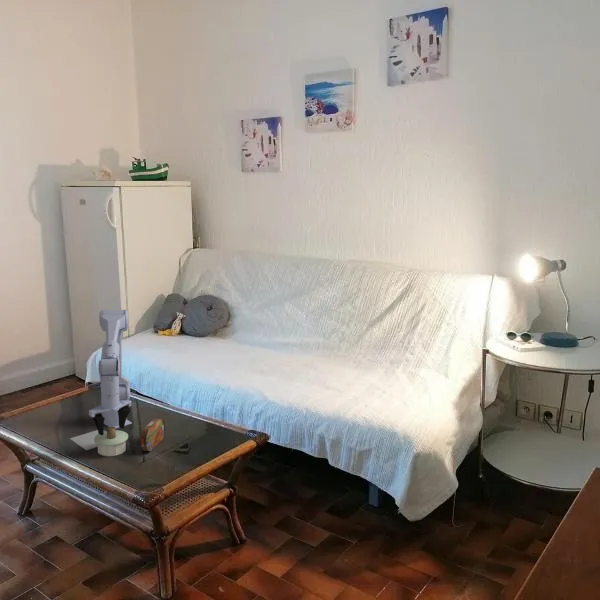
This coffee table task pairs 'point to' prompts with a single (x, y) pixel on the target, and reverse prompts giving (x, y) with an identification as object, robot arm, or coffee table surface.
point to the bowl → (112, 449)
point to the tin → (152, 434)
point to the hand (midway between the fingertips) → (111, 430)
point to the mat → (86, 440)
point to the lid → (111, 437)
